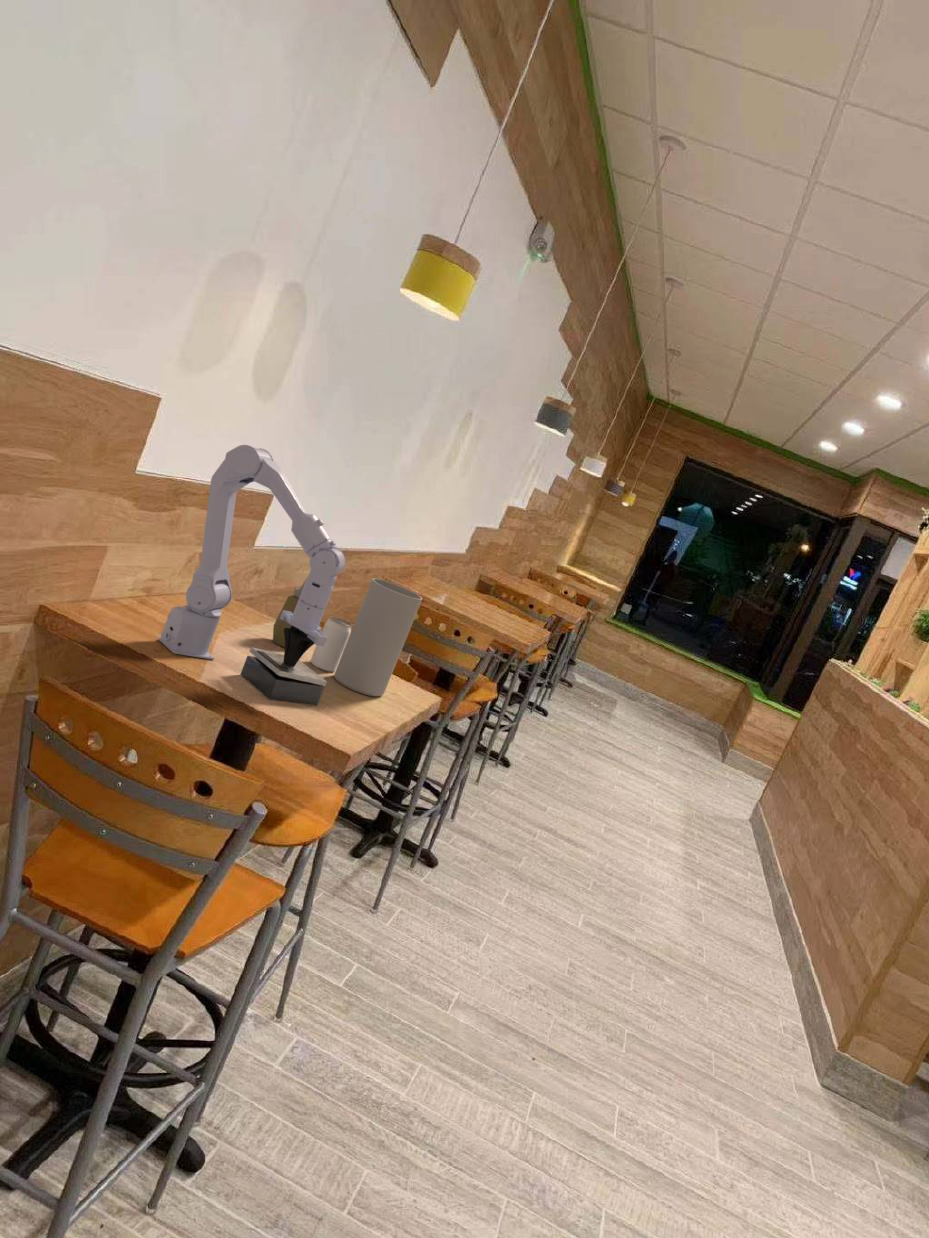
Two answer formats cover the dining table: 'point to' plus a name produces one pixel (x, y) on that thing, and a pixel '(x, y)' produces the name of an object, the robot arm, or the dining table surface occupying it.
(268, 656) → the lid
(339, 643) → the can
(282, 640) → the squeeze bottle
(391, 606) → the cylinder vase
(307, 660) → the dining table surface
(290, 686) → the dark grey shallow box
